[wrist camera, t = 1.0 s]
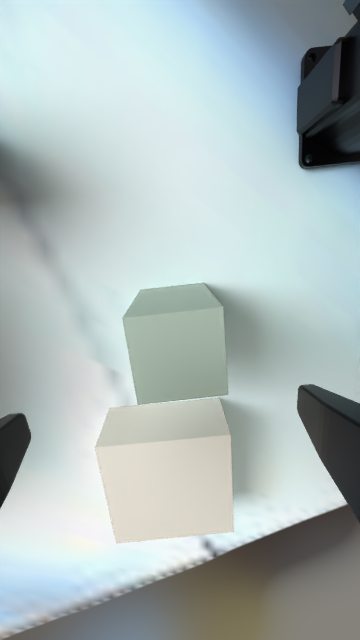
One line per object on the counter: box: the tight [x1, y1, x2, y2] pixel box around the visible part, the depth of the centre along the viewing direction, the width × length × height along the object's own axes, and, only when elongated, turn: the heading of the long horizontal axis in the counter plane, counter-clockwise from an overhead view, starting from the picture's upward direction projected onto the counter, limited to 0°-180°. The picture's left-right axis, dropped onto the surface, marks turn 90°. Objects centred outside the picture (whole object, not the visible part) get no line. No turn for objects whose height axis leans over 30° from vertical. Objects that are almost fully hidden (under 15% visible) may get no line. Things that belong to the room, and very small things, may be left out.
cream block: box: [95, 398, 234, 543], centre depth 23 cm, size 10×10×5 cm
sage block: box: [122, 283, 228, 405], centre depth 17 cm, size 5×5×8 cm
